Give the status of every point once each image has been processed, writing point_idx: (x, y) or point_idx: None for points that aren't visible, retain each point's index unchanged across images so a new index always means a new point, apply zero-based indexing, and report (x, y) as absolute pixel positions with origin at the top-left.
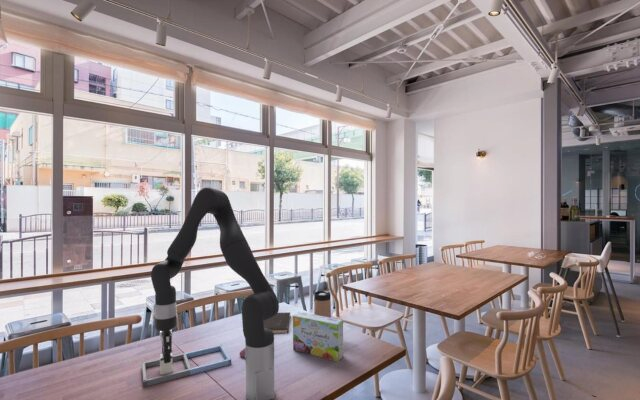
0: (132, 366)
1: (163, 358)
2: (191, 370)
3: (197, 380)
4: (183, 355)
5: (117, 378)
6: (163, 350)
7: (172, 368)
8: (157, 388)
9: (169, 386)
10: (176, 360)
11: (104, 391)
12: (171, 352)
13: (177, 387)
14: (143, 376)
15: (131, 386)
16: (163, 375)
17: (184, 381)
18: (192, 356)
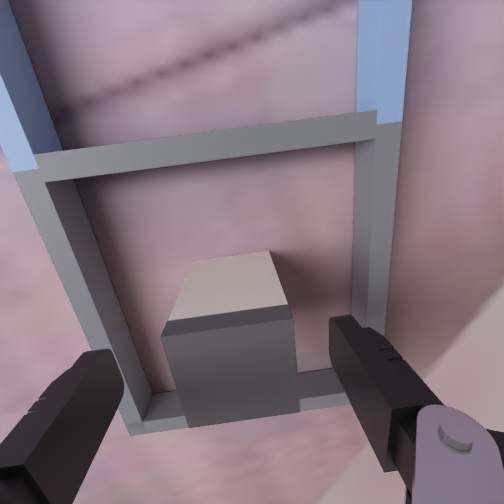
0: (113, 443)
1: (297, 387)
2: (398, 108)
3: (496, 70)
4: (68, 178)
5: (221, 470)
6: (106, 410)
7: (272, 261)
8: (420, 317)
9: (442, 261)
10: (91, 231)
11: (313, 484)
12: (185, 333)
13: (486, 216)
14: (318, 407)
15: (327, 416)
16: (369, 313)
17: (444, 172)
18: (39, 88)
